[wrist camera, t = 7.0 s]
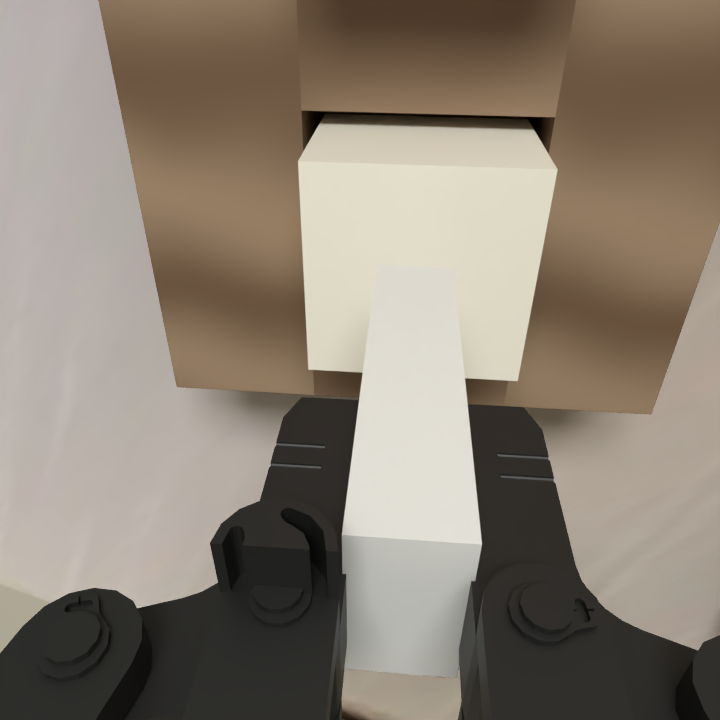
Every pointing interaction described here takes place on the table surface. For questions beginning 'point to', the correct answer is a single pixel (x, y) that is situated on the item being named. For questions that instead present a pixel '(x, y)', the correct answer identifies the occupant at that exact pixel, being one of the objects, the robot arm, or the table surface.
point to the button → (423, 228)
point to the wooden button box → (427, 99)
